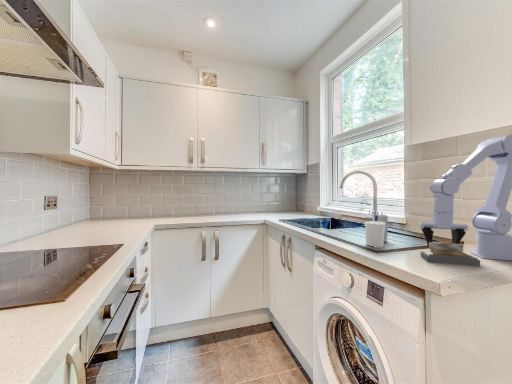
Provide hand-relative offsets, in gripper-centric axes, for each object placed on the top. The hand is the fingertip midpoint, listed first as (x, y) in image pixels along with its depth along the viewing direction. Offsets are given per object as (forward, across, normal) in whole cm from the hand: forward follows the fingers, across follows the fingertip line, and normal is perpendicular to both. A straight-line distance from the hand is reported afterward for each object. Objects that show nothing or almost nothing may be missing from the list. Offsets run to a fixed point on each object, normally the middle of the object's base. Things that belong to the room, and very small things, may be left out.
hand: (441, 248), depth 90 cm
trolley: (+2, 0, +5) cm, 6 cm away
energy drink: (+3, +17, -20) cm, 26 cm away
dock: (+3, 0, +2) cm, 4 cm away
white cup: (+3, +21, -10) cm, 23 cm away
